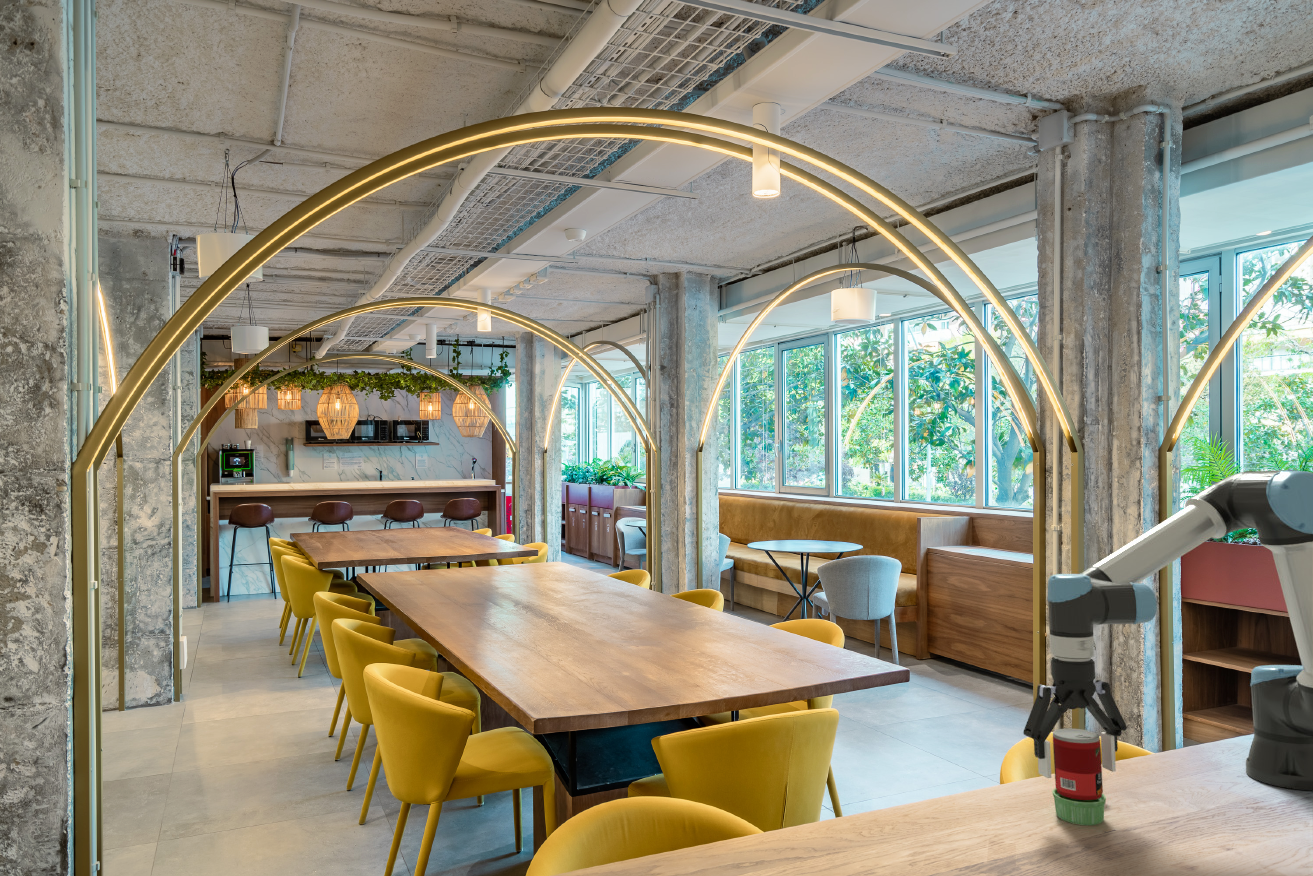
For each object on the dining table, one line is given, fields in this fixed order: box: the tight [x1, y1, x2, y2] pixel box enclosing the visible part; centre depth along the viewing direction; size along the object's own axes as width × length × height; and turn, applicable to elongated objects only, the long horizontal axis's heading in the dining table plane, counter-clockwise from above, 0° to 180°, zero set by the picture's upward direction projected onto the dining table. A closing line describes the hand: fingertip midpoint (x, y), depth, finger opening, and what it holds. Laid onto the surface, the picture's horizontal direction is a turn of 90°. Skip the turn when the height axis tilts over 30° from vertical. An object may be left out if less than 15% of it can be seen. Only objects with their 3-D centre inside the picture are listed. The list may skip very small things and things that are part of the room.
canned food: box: [1052, 728, 1104, 800], centre depth 166 cm, size 8×8×11 cm
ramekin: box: [1052, 787, 1107, 826], centre depth 165 cm, size 9×9×4 cm
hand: (1077, 772), depth 166 cm, fingers open, 13 cm apart
